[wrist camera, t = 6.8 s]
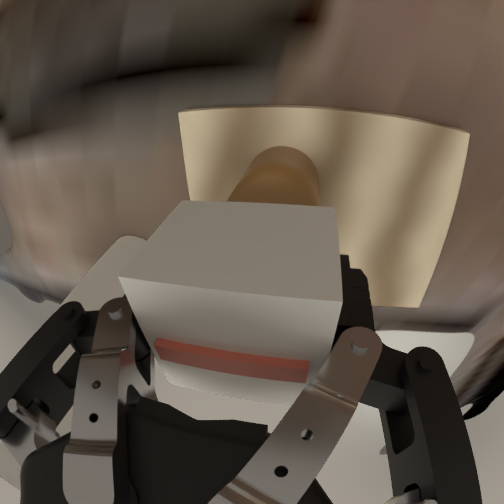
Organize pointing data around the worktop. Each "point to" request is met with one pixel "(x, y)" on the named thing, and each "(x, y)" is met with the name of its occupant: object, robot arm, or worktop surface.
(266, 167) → the bottle
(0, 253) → the lumpy-topped squat cylinder
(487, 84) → the worktop surface
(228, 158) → the board
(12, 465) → the cylindrical container
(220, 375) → the white minus sign cube
